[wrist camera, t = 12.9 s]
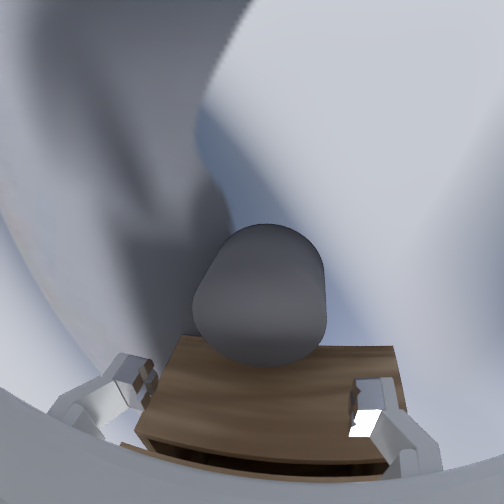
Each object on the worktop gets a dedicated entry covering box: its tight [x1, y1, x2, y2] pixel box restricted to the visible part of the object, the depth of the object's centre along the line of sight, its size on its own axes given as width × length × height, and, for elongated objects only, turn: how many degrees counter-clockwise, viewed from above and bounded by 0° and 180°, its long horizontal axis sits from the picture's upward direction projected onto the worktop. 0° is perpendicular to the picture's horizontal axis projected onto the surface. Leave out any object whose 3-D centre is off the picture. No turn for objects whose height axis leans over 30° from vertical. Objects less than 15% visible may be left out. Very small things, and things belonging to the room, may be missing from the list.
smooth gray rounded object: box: [192, 224, 327, 367], centre depth 15 cm, size 6×6×4 cm
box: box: [134, 335, 407, 477], centre depth 18 cm, size 14×14×8 cm
